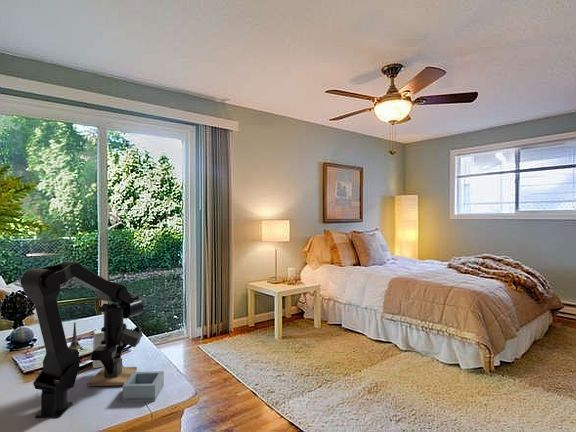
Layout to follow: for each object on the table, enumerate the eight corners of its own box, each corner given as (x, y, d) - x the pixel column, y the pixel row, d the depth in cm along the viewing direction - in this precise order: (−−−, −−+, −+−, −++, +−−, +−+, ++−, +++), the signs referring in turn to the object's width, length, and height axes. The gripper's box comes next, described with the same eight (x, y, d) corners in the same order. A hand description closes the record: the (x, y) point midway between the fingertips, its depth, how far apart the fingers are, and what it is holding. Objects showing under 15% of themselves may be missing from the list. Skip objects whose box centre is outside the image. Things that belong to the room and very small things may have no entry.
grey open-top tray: (154, 401, 100) (155, 385, 100) (122, 402, 99) (122, 386, 99) (163, 385, 109) (163, 371, 109) (134, 386, 108) (134, 371, 108)
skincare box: (93, 369, 120) (93, 333, 119) (92, 364, 123) (92, 330, 123) (113, 364, 123) (113, 330, 123) (111, 360, 127) (112, 327, 127)
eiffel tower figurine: (92, 345, 142) (92, 312, 142) (100, 352, 135) (100, 318, 135) (48, 355, 131) (48, 320, 131) (54, 364, 124) (55, 327, 124)
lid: (124, 384, 108) (124, 367, 108) (87, 385, 107) (87, 368, 107) (136, 369, 119) (136, 353, 119) (103, 369, 118) (103, 354, 118)
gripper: (128, 332, 104) (127, 384, 104) (148, 314, 123) (148, 358, 123) (89, 332, 103) (89, 385, 103) (115, 314, 122) (115, 358, 122)
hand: (113, 370), depth 113 cm, fingers closed on lid, 4 cm apart
